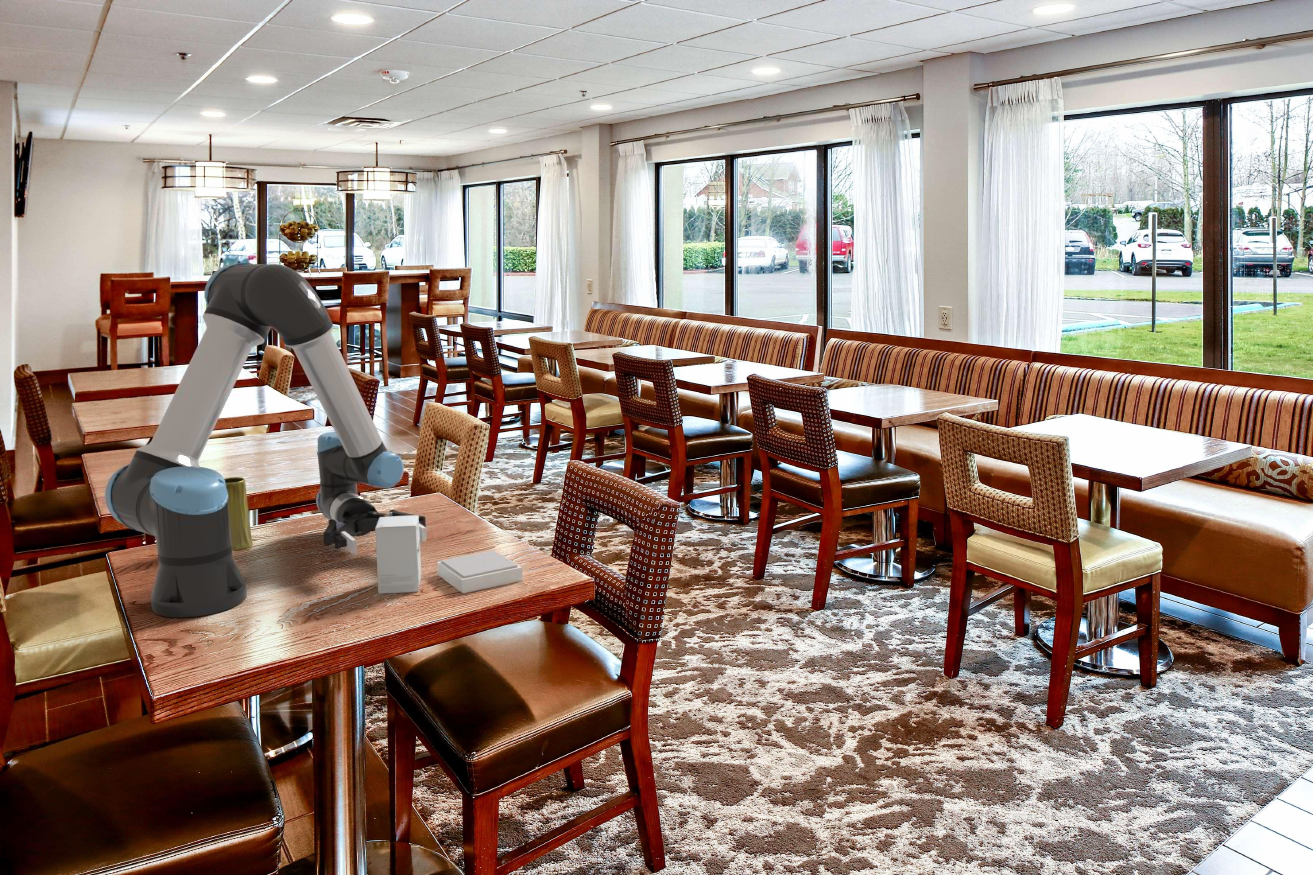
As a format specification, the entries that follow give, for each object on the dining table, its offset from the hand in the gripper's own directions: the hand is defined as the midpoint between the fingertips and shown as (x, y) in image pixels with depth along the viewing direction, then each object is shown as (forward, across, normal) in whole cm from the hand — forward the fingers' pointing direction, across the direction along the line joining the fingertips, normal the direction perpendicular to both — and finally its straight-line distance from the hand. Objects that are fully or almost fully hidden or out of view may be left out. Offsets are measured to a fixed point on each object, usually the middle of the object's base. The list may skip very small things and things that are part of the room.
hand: (390, 540), depth 179 cm
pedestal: (+11, -13, -7) cm, 18 cm away
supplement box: (+7, +1, -7) cm, 10 cm away
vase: (-36, +20, -7) cm, 42 cm away
